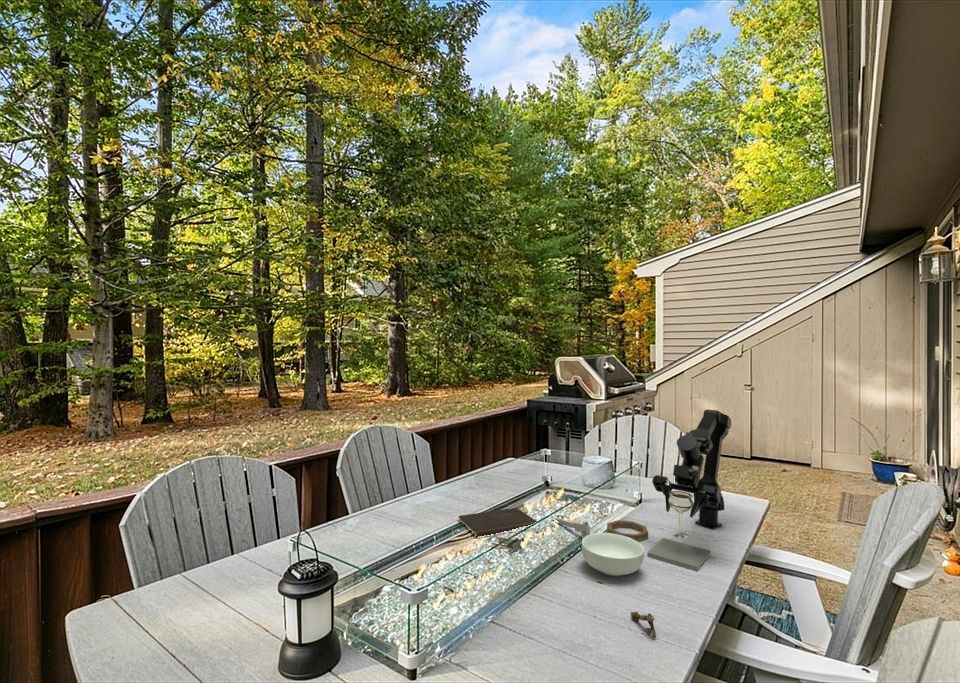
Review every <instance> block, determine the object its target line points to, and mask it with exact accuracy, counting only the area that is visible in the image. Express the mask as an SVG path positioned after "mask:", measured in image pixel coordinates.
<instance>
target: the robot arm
mask: <svg viewBox="0 0 960 683" xmlns="http://www.w3.org/2000/svg"><path fill="white" fill-rule="evenodd" d="M731 428H732V419H731V417H730V416H729V415H727V414H725V413H722V412H721V411H719V410H718V409H717V410H715V409H704V411H703V415H702V418H701V420H700V421H699V424H697V427H696V428H695V429H692V430H689V432H685V434H684V435H681V436H680V437H678V439H677V440H676V446H677V449H678V452H679V454H680V456H681V458H682V462H681V465H679V464H674V465H673V466H674V467H673V472H672V475H673V476H674V481H676V482H673V481H670V480H669V478H668V476H665V475H664V476H663V475H659V474H655V475H654V476H653V478H652V484H653V487H654V489H655V491H656V492H659V493H662V494H663V495H664V498H665V508H666V512H667V513H669V512H670V511H671V506H670V505H669V501H668V499H669V497H670V495H669V492H672V491H673V490H674V491H681V492H686V493H689V494H693V506H692V508H691V509H690V514H689V517H690V518H693V517H694V516H696V514H697V513H698V512H699V513H698V520H696V521H695V522H694V523H695V524H697V525H699V526H702V527H705V528H708V529H710V530H714V529H716V528H719V527H722V526H723V523H722V522H719V512H722V511H725V500H724V497H723V493H722V489H721V486H720V484H719V482H718V476H719V470H720V469H719V468H720V460H721V454H722V453H721V452H722V445H723V441H724V440H725V438H727V436H728V434H729V432H730V431H729V430H730V429H731ZM702 454H704V455H705V458H704V456H703V455H702ZM704 460H705V461H704ZM703 466H704V467H703ZM702 468H704V469H703V474H702V477H700V476H701V473H702ZM721 525H722V526H721Z"/></svg>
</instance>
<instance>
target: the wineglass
mask: <svg viewBox="0 0 960 683" xmlns="http://www.w3.org/2000/svg"><path fill="white" fill-rule="evenodd" d="M669 495H670V497H669V499H668V501H669V505H670V506H671V507H670V509H672V510H674V511H675V512H677V514H678V529H679V531H672V532H670V535H671V536H672V537H674V538H678V539H687V538H689V534H688V533H686V532H683V531H681V530H682V529H681V528H682V516H683V514H684V513H687V512H689V511H691V509H692V506H693V503H694V500H692V498H694V495H693V494H692V493H689V492H684V491H680V490H672V492H669Z"/></svg>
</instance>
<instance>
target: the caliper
mask: <svg viewBox="0 0 960 683" xmlns="http://www.w3.org/2000/svg"><path fill="white" fill-rule="evenodd" d="M553 519H556V520H557V521H558V522H559V523H560V524H559V525H563V526H566V527H568V528H571V529H574V532H577V533H580V534H581V538H582V539H583V538H584V537H586V536H587V535H590V534H591V529H590V525H589V522H588V521H585V520H583V521H582V522H577V521H575V522H573V521H570V520H565V519H562V518H559V517H553Z"/></svg>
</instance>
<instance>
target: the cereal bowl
mask: <svg viewBox="0 0 960 683" xmlns="http://www.w3.org/2000/svg"><path fill="white" fill-rule="evenodd" d="M581 553H582V557H583V558H584V560H585V561H586V563H587V565H589V566H590V567H592V568H593V569H595V570H596V571H599V572H600V573H602V574H604V575H606V576H607V575H608V576H612V577H620V576H621V577H622V576H625V575H629V574H632V573H634V572H637V571H638V570H639V569H640V568H641V566H642V565H643V562H644V558H645V548H644V546H643V544H641V542H637V541H635V540H633V539H631V538H629V537H626V536H622V535H618V534H612V533H608V532H596V533H590V535H587V536H586V537H584V538H582V540H581Z"/></svg>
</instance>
